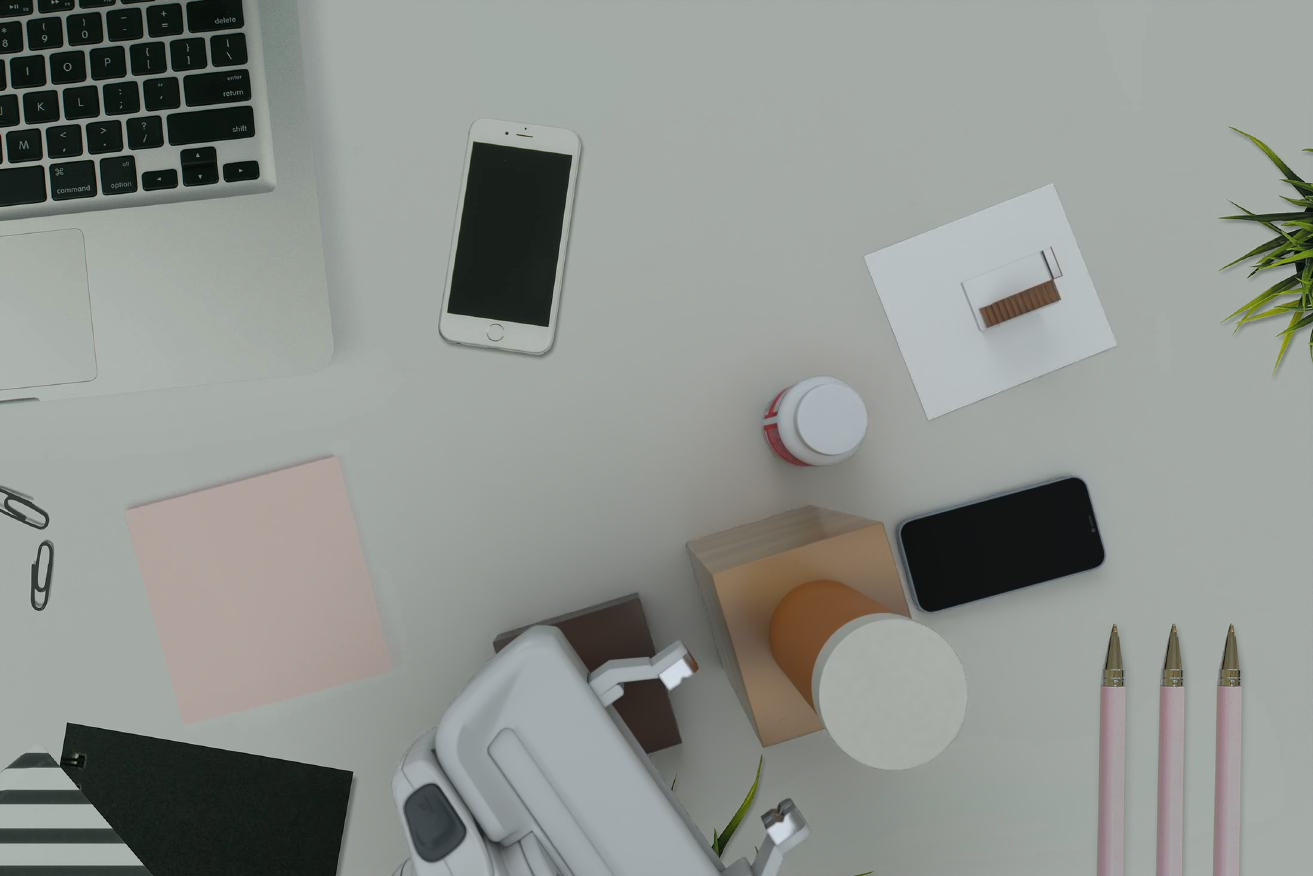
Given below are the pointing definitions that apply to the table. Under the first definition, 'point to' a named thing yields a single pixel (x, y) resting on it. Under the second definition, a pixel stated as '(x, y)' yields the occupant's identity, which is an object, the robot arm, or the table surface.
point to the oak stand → (757, 579)
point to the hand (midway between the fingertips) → (745, 733)
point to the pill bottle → (815, 422)
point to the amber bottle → (870, 674)
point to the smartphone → (1001, 544)
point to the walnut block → (612, 637)
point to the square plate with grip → (990, 301)
